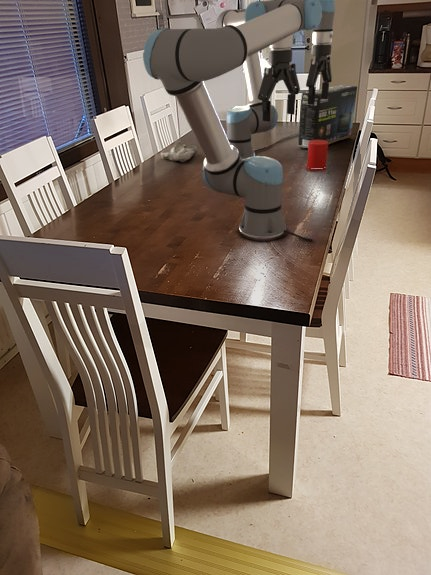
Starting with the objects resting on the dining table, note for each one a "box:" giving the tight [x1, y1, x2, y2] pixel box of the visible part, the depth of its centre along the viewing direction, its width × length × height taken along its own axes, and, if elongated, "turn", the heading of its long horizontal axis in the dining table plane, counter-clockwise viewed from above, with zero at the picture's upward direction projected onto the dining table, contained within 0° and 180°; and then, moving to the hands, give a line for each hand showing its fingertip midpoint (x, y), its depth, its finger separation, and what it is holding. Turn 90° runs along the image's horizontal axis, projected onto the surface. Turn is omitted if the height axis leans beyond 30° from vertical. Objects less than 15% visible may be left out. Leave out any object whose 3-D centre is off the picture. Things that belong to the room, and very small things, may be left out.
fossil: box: [160, 142, 199, 163], centre depth 229 cm, size 18×11×15 cm
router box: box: [297, 84, 358, 147], centre depth 238 cm, size 36×11×27 cm, turn 134°
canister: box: [306, 140, 329, 172], centre depth 204 cm, size 8×8×12 cm
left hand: (317, 101), depth 191 cm, fingers open, 13 cm apart
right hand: (278, 117), depth 160 cm, fingers open, 13 cm apart
